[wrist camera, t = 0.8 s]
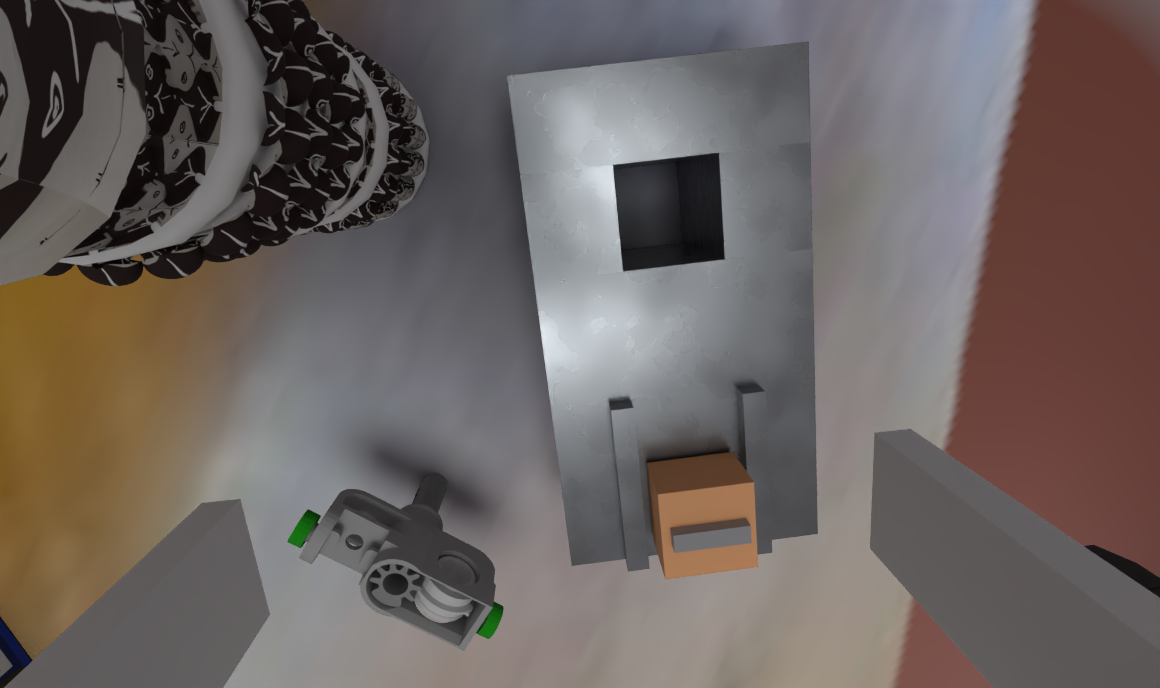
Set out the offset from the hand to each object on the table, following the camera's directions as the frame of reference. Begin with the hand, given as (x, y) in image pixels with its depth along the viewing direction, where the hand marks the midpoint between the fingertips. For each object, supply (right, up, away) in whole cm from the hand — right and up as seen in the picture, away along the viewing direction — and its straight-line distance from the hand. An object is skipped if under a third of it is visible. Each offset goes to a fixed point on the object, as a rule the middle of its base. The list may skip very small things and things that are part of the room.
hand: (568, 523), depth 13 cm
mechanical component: (-9, -5, +25) cm, 27 cm away
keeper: (+5, -3, +16) cm, 17 cm away
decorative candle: (-12, +14, +20) cm, 27 cm away
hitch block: (+4, +6, +22) cm, 24 cm away
